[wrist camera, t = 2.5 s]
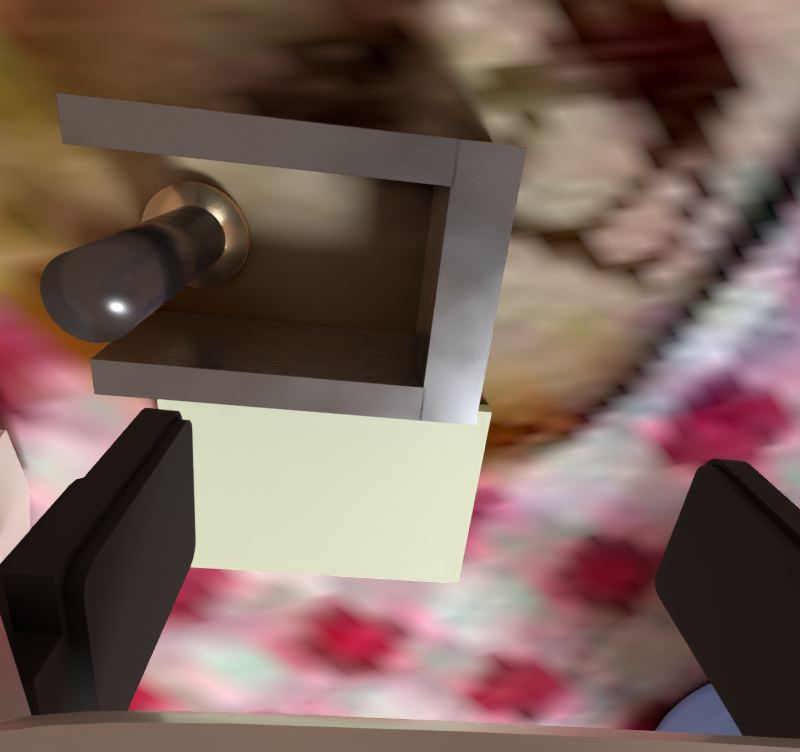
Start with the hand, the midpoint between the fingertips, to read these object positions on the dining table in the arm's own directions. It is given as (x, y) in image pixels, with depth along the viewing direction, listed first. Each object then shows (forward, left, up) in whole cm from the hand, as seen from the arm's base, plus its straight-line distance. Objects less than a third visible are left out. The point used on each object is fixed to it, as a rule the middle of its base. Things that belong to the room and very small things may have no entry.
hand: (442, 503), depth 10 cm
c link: (+4, -1, -16) cm, 17 cm away
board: (+3, +11, -16) cm, 20 cm away
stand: (+9, -1, -16) cm, 19 cm away
